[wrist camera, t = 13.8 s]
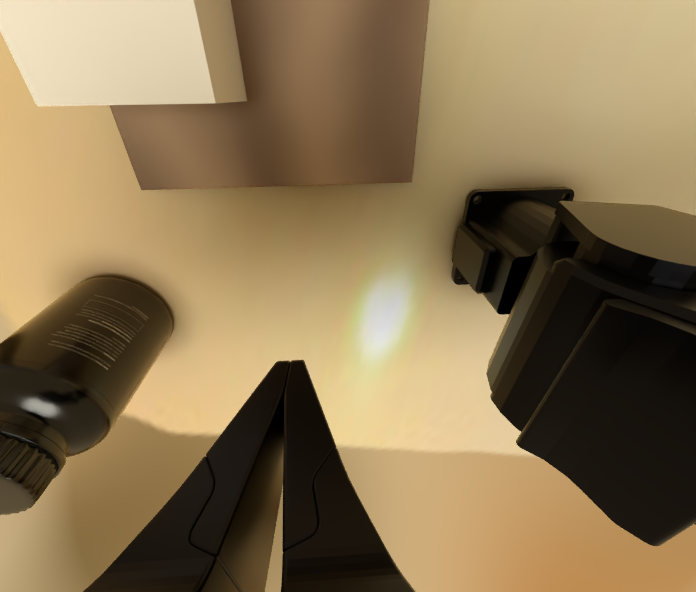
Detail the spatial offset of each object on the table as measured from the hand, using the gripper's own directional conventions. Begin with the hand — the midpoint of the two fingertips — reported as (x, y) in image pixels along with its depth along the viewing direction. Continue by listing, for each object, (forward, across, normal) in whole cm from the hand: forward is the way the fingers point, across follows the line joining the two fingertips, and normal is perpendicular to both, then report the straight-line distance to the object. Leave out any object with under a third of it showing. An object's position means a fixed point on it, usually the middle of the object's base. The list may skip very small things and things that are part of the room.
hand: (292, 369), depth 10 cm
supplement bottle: (+12, +14, +6) cm, 20 cm away
